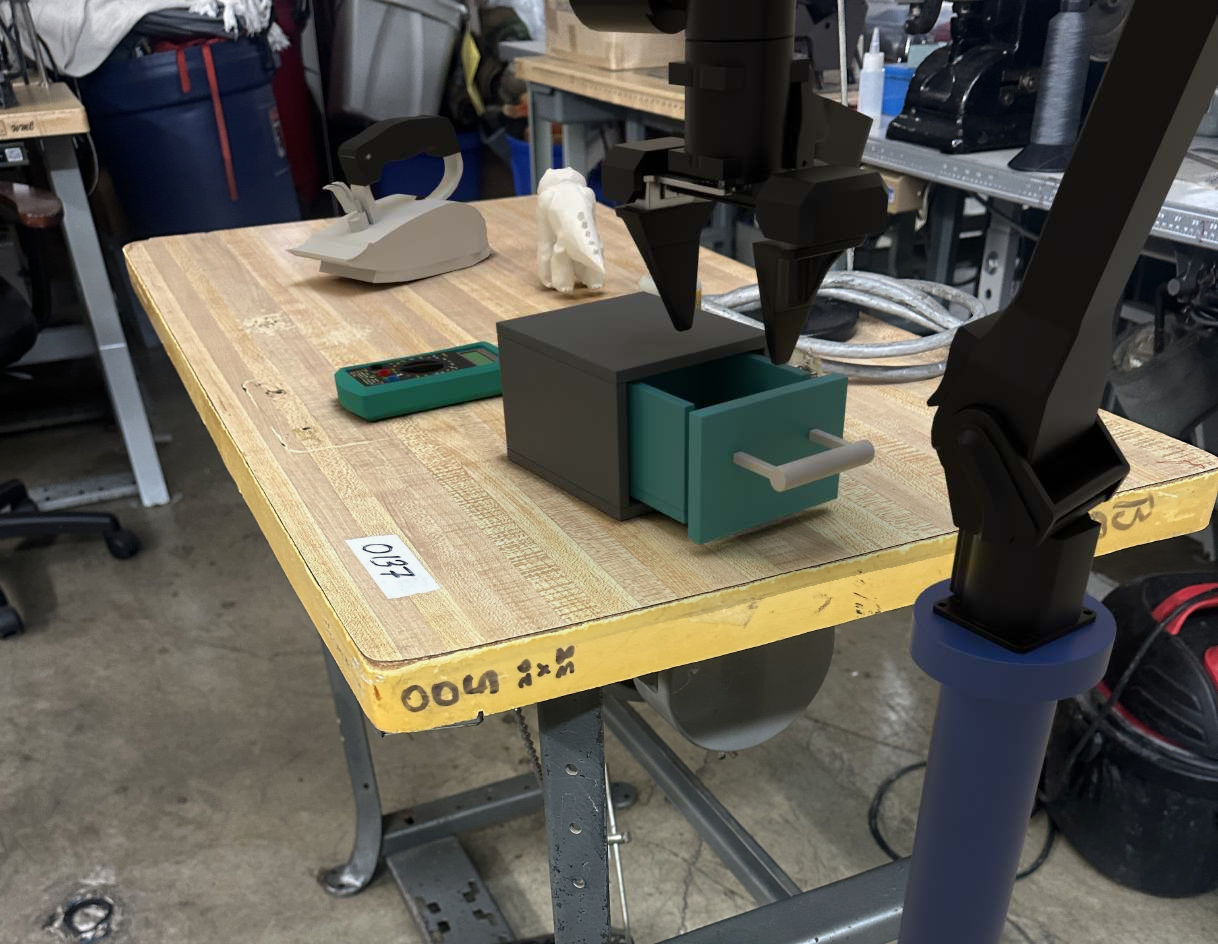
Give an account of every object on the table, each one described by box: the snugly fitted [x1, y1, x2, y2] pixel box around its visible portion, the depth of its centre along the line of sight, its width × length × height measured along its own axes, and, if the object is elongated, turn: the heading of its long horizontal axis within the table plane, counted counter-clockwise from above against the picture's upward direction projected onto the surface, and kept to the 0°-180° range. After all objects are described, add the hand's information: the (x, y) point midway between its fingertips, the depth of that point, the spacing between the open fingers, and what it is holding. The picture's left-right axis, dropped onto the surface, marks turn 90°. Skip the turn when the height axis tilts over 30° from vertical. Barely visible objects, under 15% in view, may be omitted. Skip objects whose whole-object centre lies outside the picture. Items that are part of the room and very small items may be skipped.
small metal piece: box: [789, 346, 824, 379], centre depth 96 cm, size 6×2×3 cm, turn 22°
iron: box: [285, 114, 492, 284], centre depth 130 cm, size 11×24×15 cm, turn 139°
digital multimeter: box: [333, 340, 502, 422], centre depth 97 cm, size 7×15×3 cm, turn 119°
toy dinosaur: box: [535, 166, 607, 294], centre depth 120 cm, size 7×24×11 cm, turn 15°
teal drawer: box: [626, 351, 876, 545], centre depth 74 cm, size 18×11×8 cm, turn 34°
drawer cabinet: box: [495, 291, 770, 522], centre depth 81 cm, size 15×13×10 cm
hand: (730, 346), depth 70 cm, fingers open, 9 cm apart
